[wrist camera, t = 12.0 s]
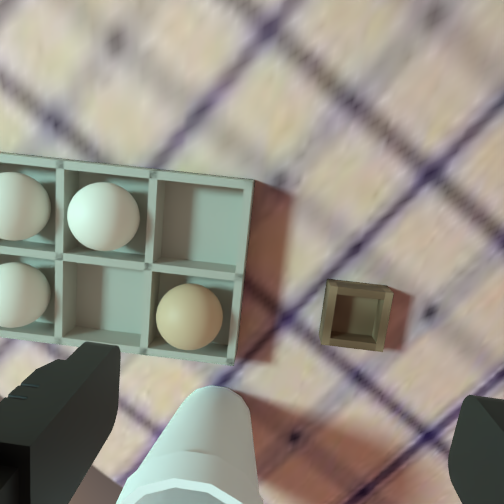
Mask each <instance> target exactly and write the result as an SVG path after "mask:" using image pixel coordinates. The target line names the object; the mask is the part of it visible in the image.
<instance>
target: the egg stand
mask: <svg viewBox="0 0 504 504" xmlns="http://www.w3.org/2000/svg"><path fill="white" fill-rule="evenodd" d="M393 294H394V293H393V292H392V291H391V290H390V289H389V288H388V286H385V285H376V284H367V283H359V282H350V281H341V280H333V279H327V282H326V289H325V296H324V303H323V310H322V316H321V323H320V330H319V337H320V341H321V345H330V346H338V347H346V348H354V349H363V350H371V351H379V352H383V349H384V343H385V338H386V332H387V327H388V321H389V316H390V310H391V305H392V299H393Z"/></svg>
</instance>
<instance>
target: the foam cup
mask: <svg viewBox="0 0 504 504" xmlns="http://www.w3.org/2000/svg"><path fill="white" fill-rule="evenodd" d="M116 504H263V499H262V497H261V496H260V494H259V486H258V478H257V469H256V460H255V451H254V443H253V434H252V425H251V416H250V409H249V408H248V406H247V405H246V403H245V402H244V400H243V399H242V397H241V396H240V395H238V394H236V393H235V392H233V391H232V390H230V389H229V388H225V387H219V386H212V385H211V386H207V387H204V388H200V389H196V390H195V391H194V392H193V393H192V394H190V395H189V396H188V397H187V398H186V399H185V400H184V402H183V403H182V404H181V405H180V407H179V408H178V410H177V411H176V413H175V414H174V416H173V417H172V419H171V420H170V422H169V423H168V425H167V426H166V428H165V429H164V431H163V432H162V434H161V435H160V437H159V438H158V440H157V441H156V443H155V444H154V446H153V447H152V449H151V450H150V452H149V453H148V455H147V456H146V458H145V459H144V461H143V462H142V464H141V465H140V467H139V468H138V470H137V471H136V472H135V473H133V474H132V475H131V476H130V477H129V478H128V479H127V481H126V483H125V485H124V488H123V490H122V492H121V494H120V496H119V498H118V500H117V502H116Z"/></svg>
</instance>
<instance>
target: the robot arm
mask: <svg viewBox="0 0 504 504" xmlns="http://www.w3.org/2000/svg"><path fill="white" fill-rule="evenodd" d="M119 378H120V348H119V346H117V345H110V344H102V343H95V342H88V341H86V342H84V343H83V344H82V345H81V346H80V347H79V348H78V349H77V350H76V351H75V352H74V353H73V354H72V355H71V356H70V357H69V358H68V359H67V360H60V359H57V360H55V361H53V362H51V363H49V364H47V365H45V366H42V367H40V368H38V369H36V370H35V371H34V372H33V373H32V374H31V375H30V376H28V377H27V378H26V379H25V380H24V381H23V382H22V383H21V386H17V387H16V388H15V389H14V390H13V391H12V392H11V393H10V394H9V395H8V398H6V397H5V398H4V399H3V400H2V401H1V402H0V504H68V503H69V501H70V500H71V498H72V496H73V495H74V493H75V492H76V490H77V488H78V487H79V485H80V483H81V482H82V480H83V478H84V477H85V475H86V473H87V471H88V469H89V468H90V467H91V465H92V463H93V462H94V460H95V458H96V456H97V455H98V453H99V451H100V450H101V448H102V446H103V445H104V443H105V441H106V440H107V438H108V436H109V435H110V433H111V431H112V428H113V426H114V423H115V419H116V415H117V410H118V398H119ZM448 468H449V475H450V479H451V482H452V484H453V486H454V488H455V490H456V492H457V494H458V496H459V498H460V500H461V502H462V504H504V400H503V399H496V398H489V397H481V396H474V395H469V396H467V397H466V398H465V399H464V401H463V403H462V406H461V410H460V414H459V418H458V421H457V425H456V429H455V433H454V436H453V440H452V444H451V448H450V452H449V458H448Z"/></svg>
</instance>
